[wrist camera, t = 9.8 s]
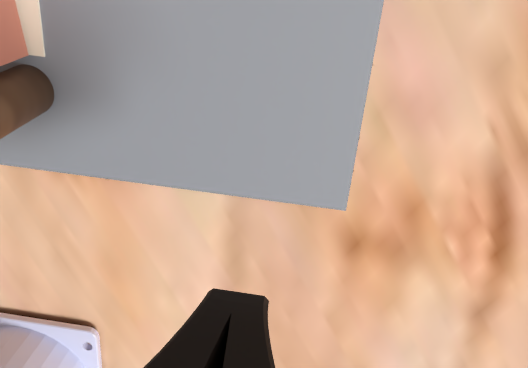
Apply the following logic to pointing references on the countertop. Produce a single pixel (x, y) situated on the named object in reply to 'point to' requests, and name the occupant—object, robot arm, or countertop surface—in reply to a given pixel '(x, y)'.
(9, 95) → the fence fixed
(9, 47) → the fence gate
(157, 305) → the countertop surface
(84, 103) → the card
